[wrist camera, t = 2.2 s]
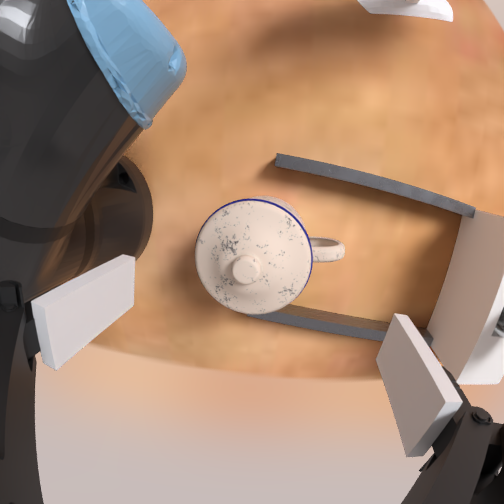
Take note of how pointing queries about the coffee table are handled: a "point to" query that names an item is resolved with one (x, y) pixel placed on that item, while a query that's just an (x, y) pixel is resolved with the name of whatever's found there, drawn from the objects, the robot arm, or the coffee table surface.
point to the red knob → (501, 317)
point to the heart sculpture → (410, 8)
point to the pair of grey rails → (338, 321)
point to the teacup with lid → (258, 254)
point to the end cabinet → (472, 303)
